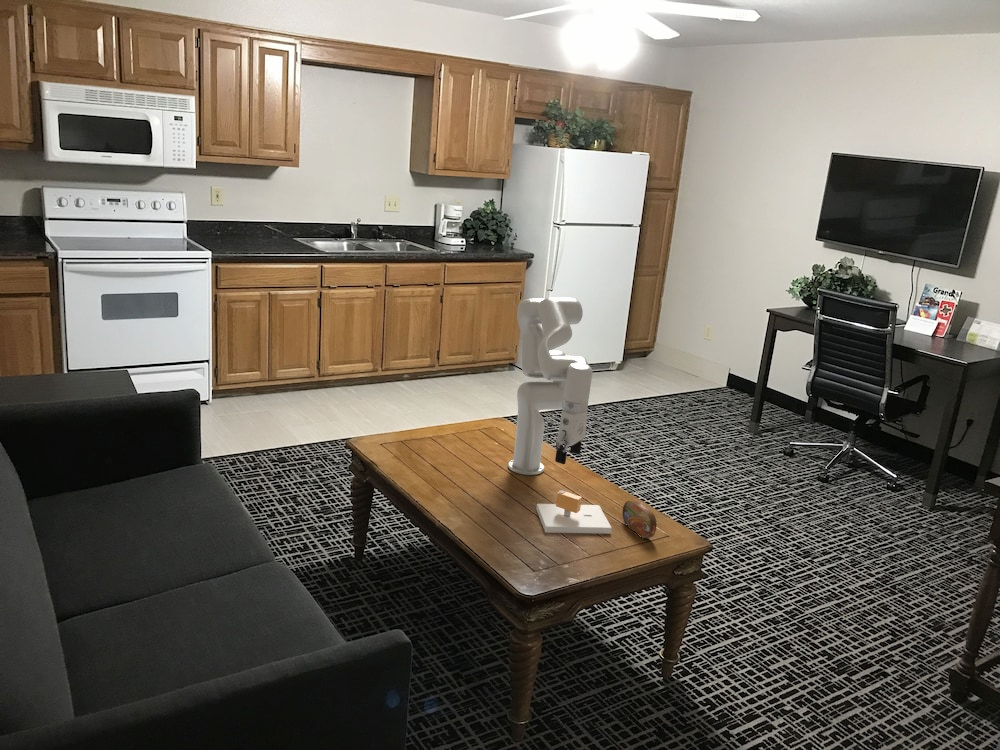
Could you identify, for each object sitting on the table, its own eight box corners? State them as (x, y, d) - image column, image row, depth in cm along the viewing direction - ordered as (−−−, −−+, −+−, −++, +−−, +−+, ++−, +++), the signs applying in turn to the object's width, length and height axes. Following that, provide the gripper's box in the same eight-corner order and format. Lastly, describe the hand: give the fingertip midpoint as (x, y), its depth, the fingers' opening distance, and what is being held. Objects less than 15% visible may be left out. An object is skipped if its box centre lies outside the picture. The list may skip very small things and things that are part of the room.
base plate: (536, 509, 251) (537, 497, 250) (598, 510, 254) (599, 499, 253) (545, 532, 237) (546, 520, 236) (610, 533, 240) (612, 521, 239)
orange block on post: (580, 510, 243) (581, 496, 242) (576, 513, 241) (578, 499, 240) (559, 503, 246) (561, 489, 245) (555, 506, 244) (557, 492, 243)
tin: (620, 520, 249) (623, 495, 247) (628, 519, 250) (632, 494, 248) (646, 543, 236) (651, 518, 233) (655, 542, 237) (660, 516, 235)
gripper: (572, 416, 228) (565, 470, 233) (598, 401, 242) (591, 453, 247) (549, 409, 231) (543, 463, 237) (576, 394, 245) (569, 446, 251)
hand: (567, 457), depth 242 cm, fingers open, 9 cm apart
